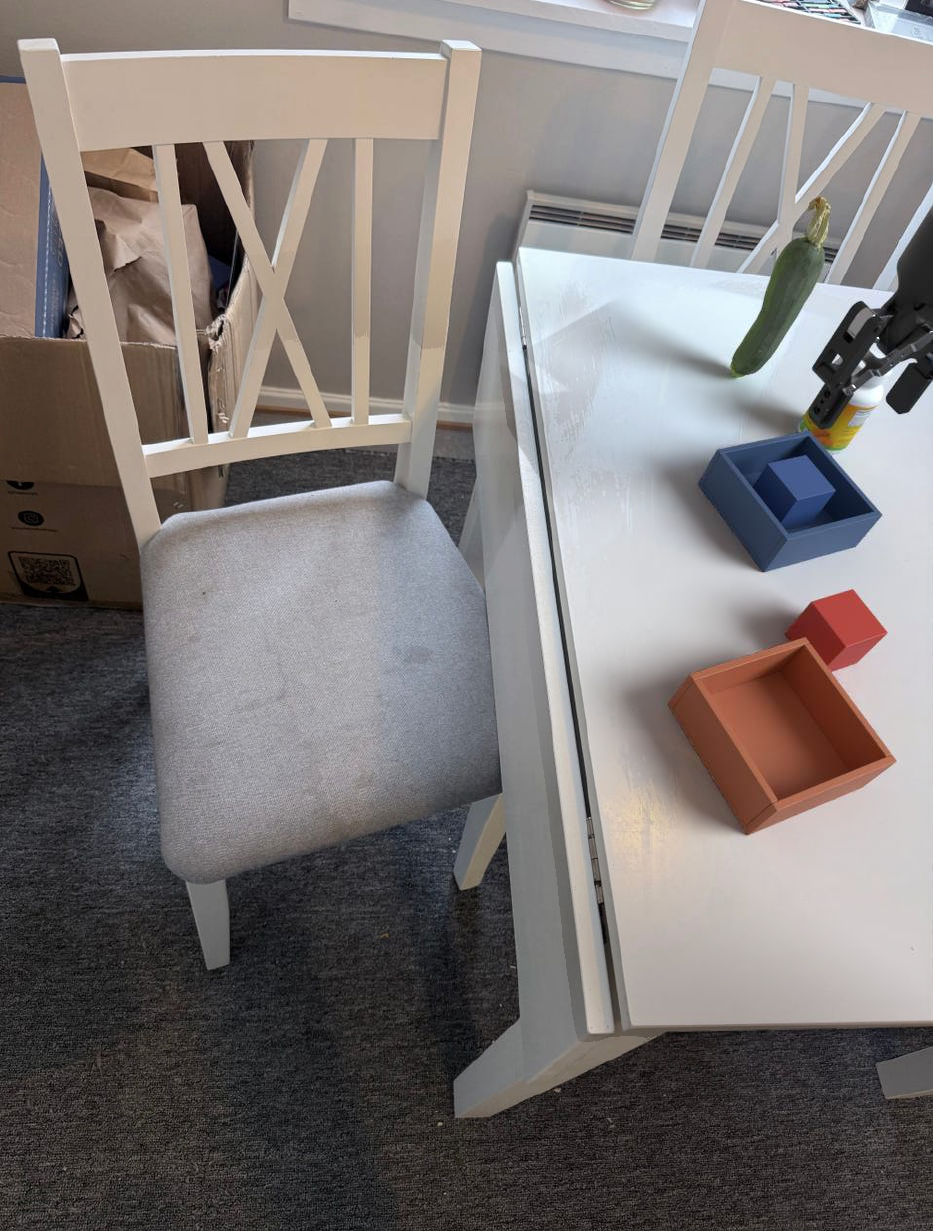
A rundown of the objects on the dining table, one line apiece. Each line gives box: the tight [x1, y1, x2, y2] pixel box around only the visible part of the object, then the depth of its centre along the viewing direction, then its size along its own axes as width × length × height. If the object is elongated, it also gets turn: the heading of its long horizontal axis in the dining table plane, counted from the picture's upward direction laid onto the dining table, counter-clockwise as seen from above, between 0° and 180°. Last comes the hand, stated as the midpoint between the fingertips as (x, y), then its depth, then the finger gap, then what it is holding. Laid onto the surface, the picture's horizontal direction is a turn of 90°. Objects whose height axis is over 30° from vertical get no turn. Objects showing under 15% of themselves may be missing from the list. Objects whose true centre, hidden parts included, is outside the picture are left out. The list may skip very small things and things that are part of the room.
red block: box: [784, 588, 889, 673], centre depth 69 cm, size 5×5×5 cm
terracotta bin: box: [667, 637, 898, 836], centre depth 62 cm, size 11×11×4 cm
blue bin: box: [697, 431, 883, 573], centre depth 78 cm, size 11×11×4 cm
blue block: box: [752, 455, 836, 530], centre depth 77 cm, size 5×5×5 cm
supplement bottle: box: [797, 348, 893, 455], centre depth 84 cm, size 5×5×10 cm
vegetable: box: [729, 196, 832, 379], centre depth 83 cm, size 4×4×20 cm
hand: (857, 414), depth 68 cm, fingers open, 8 cm apart
